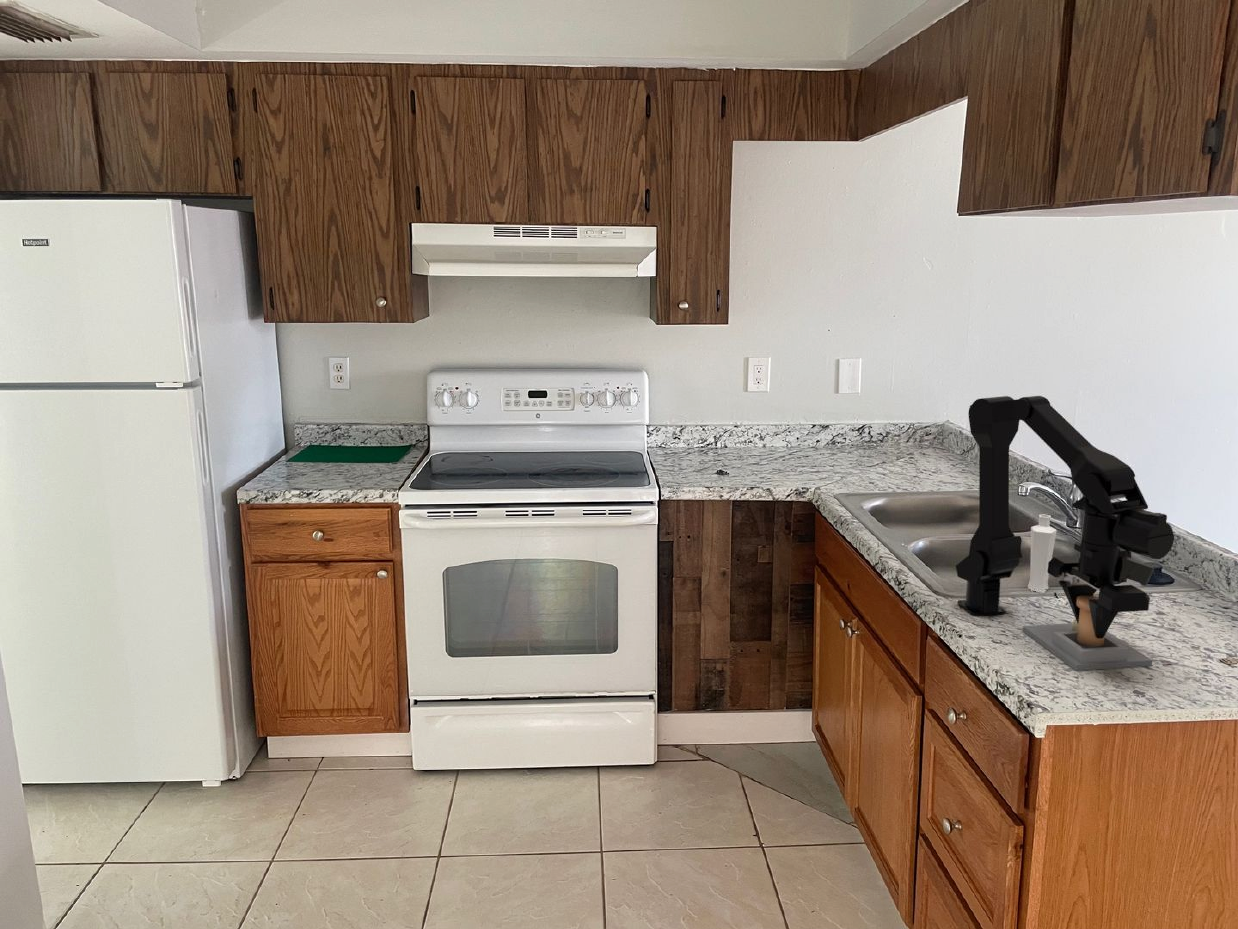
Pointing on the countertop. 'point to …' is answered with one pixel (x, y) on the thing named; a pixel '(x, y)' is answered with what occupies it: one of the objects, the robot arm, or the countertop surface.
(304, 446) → the countertop surface
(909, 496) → the countertop surface
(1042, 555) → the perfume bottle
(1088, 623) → the tan flared peg
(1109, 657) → the housing
